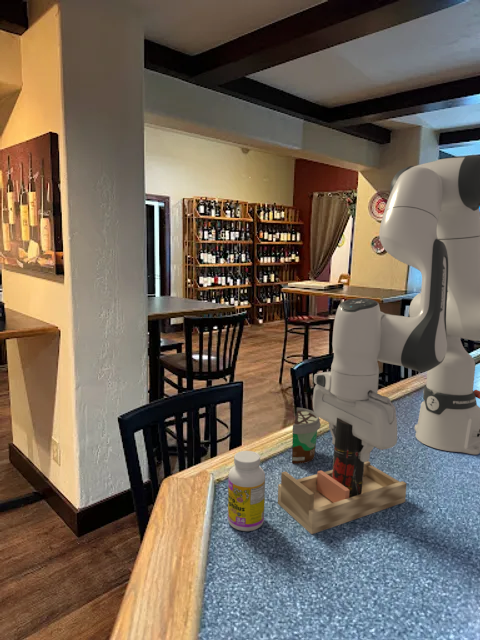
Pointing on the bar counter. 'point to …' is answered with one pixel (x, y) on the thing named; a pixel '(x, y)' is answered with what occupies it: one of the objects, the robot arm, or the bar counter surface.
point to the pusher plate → (331, 487)
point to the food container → (304, 436)
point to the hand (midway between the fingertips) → (350, 452)
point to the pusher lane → (325, 514)
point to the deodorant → (347, 459)
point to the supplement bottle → (246, 492)
